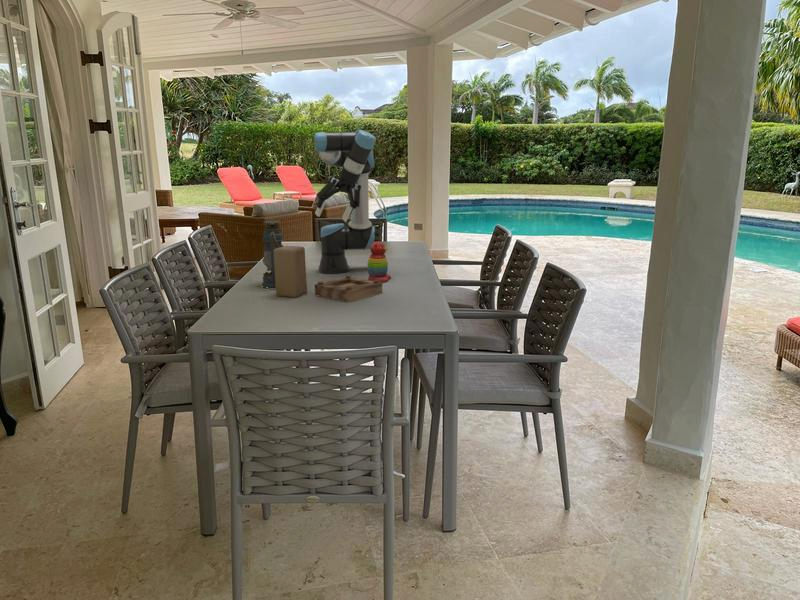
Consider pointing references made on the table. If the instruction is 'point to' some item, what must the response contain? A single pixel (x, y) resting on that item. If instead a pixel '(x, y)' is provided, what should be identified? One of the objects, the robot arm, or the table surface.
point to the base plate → (348, 297)
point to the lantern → (271, 250)
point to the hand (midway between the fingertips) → (330, 217)
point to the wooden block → (290, 271)
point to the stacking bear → (378, 263)
